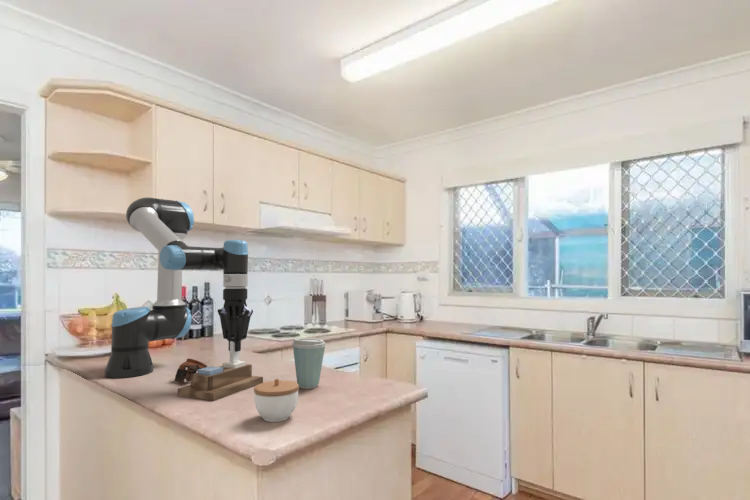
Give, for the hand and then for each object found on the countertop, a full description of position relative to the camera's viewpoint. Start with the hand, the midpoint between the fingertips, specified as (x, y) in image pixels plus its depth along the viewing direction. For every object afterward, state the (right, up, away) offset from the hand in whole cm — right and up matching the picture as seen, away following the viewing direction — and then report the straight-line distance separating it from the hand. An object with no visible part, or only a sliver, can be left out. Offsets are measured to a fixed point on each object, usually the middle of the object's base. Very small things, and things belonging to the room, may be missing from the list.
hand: (234, 361), depth 135 cm
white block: (0, -4, 0) cm, 4 cm away
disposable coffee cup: (+24, -7, -3) cm, 26 cm away
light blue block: (-4, -4, -9) cm, 11 cm away
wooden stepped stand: (-2, -7, -5) cm, 9 cm away
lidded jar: (+21, -6, -32) cm, 38 cm away
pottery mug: (-16, -8, +6) cm, 19 cm away
